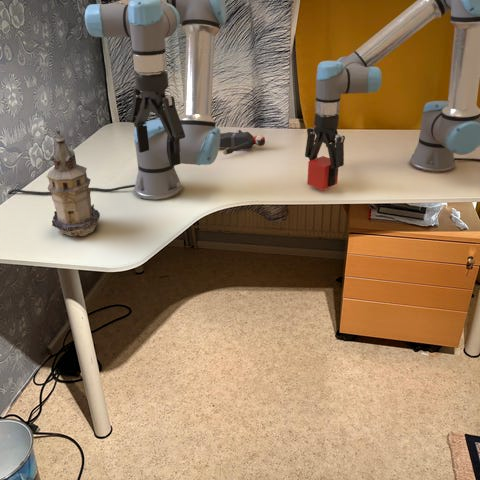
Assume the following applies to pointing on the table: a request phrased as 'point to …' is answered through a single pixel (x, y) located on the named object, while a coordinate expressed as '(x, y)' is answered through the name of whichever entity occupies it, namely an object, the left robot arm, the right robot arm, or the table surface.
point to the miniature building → (70, 193)
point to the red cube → (319, 173)
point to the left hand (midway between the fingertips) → (159, 158)
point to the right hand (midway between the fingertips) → (322, 181)
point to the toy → (239, 141)
